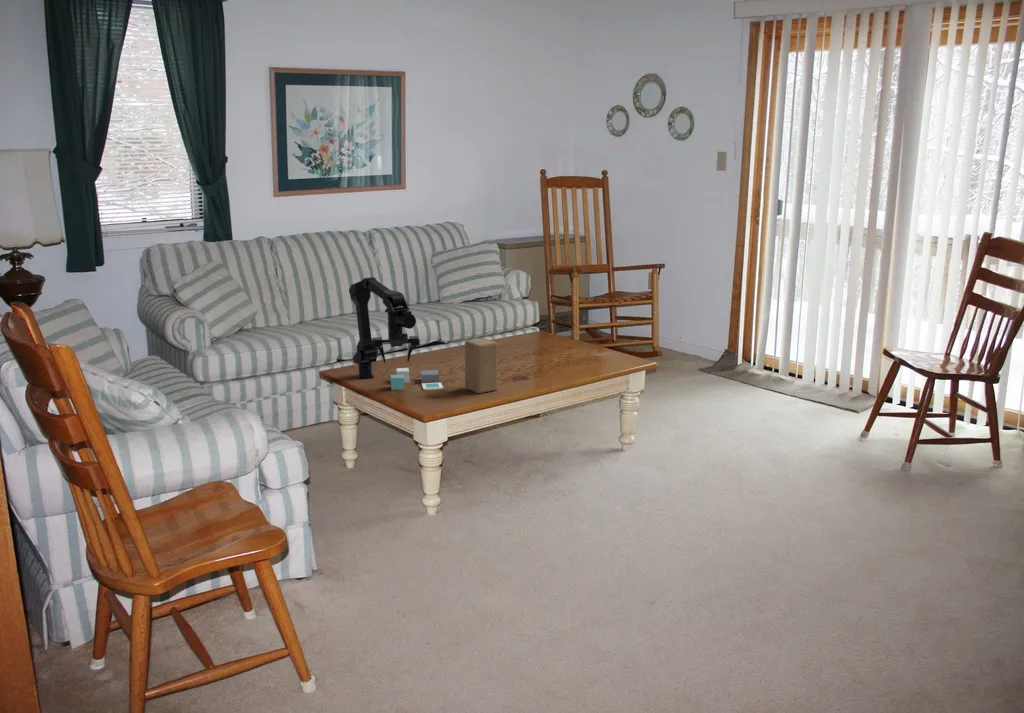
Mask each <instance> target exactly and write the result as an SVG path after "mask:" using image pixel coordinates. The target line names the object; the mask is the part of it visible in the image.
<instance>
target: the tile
mask: <svg viewBox="0 0 1024 713" xmlns="http://www.w3.org/2000/svg"><path fill="white" fill-rule="evenodd" d="M442 384H443V383H442V382H440V381H439V383H422V382H421V387H422V389H423V391H434V390H435V391H437V390H438V391H439V390H444V386H443V385H442Z"/></svg>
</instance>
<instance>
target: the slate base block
mask: <svg viewBox="0 0 1024 713" xmlns="http://www.w3.org/2000/svg"><path fill="white" fill-rule="evenodd" d="M420 380H421V384H422V383H440V373H439V370H438V369H430V370H429V369H427V370H420Z"/></svg>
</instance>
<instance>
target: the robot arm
mask: <svg viewBox="0 0 1024 713" xmlns="http://www.w3.org/2000/svg"><path fill="white" fill-rule="evenodd" d="M348 289H349V290H348V294H349V297H350V300H351V301H352V303H353V304H354V306H355V312H356V321H357V329H358V337H359V340H358V342H357V345H356V352H355V354H354V355H353V357H352V362H353V364H355V365H358V366H357V367H358V370H357V371H358V373H357V379H374V376H375V375H374V373H373V363H375V362H377V360H378V353H380V355H381V358H382V361H383V363H384V364H386V357H385V352H384V351H385V350H384V346H383V345H390V347H391V348H395V347H403V346H404V345H405V344H406V345H407V354H406V355H407V356H406V363H409V362H410V358H411V355H412V352H413V350H414V348H415V349H416V348H417V346H419V347H420V346H421V344H420V342H421V341H420V340H421V339H420V337H419V336H417V335H412V336H411V335H408V333H403V329H404V328H405V329H413V328H414V327H415V325H416V324H417V319H416V317H415V316H414V314H412V310H410V307H409V304H408V302H407V300H406V298H405V296H404V294H403V293H402V292H400V291H398V290H392V289H389V288H388V287H387V286H385V285H384V284H383V283H381V282H380V281H378V280H377V279H376V277H373V276H372V277H364V278H363V279H361V280H360V281H357V282H355V283H353V284H351V285H350V287H349V288H348ZM371 293H372V294H374V295H376V296H377V297H379V298H380V299H381V300H382V304H383V305H384V306H385V307H386V309H385V310H384V312H385V313H387V328H388V329H387V333H388V336H387V337H388V339H383V338H382V337H380V336H379V337H372V332H371V331H372V330H371V322H370V314H369V305H368V304H369V302H370V300H371Z"/></svg>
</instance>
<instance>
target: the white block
mask: <svg viewBox="0 0 1024 713" xmlns="http://www.w3.org/2000/svg"><path fill="white" fill-rule="evenodd" d="M395 373H396V374H395V375H403V376H404V384H408V383H410V382H411V381H410V379H411V378H410V370H409V367H403V368H399V367H398V368H396V369H395Z"/></svg>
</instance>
